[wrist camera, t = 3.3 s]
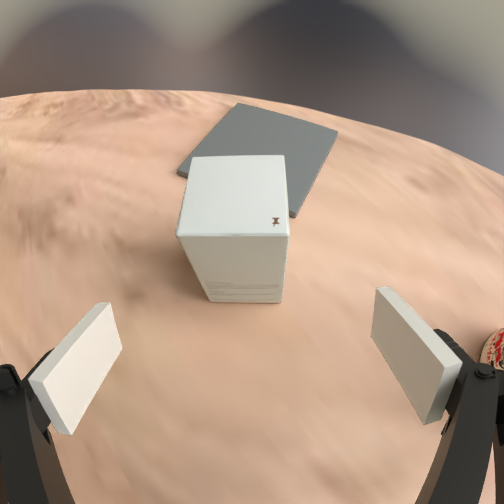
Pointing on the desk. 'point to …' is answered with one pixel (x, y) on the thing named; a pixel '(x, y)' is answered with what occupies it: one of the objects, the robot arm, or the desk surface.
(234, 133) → the slate mat
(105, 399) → the desk surface
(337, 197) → the desk surface
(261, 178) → the supplement box
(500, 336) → the teacup with lid
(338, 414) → the desk surface
